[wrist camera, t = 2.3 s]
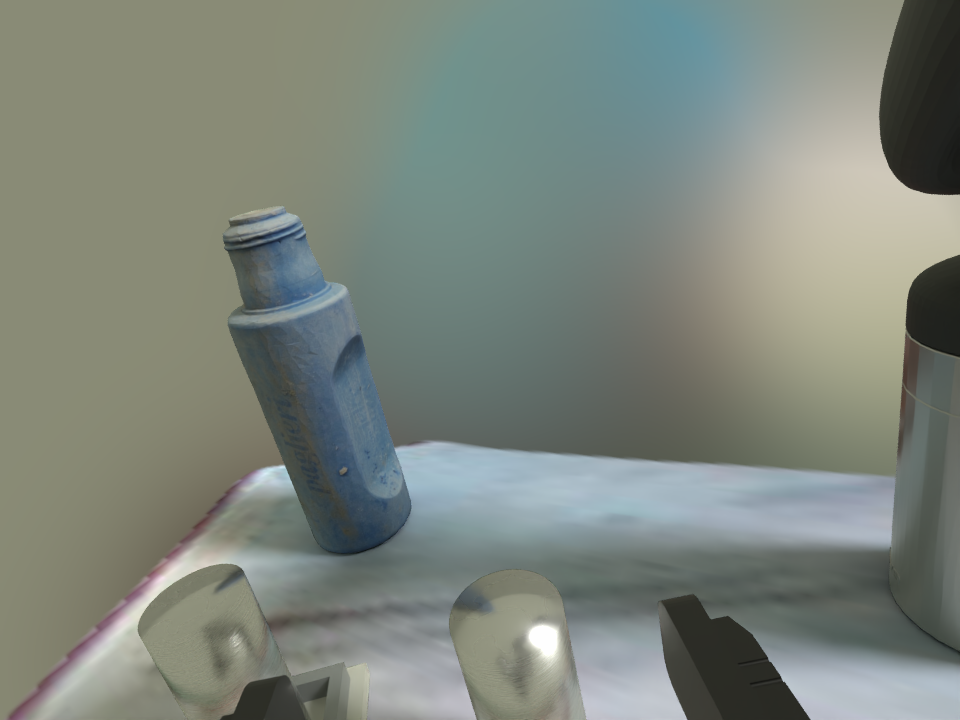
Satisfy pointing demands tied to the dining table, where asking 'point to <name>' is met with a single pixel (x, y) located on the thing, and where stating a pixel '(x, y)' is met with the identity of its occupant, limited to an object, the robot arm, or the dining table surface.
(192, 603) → the cylinder
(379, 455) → the bottle
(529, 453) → the dining table surface
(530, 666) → the billet
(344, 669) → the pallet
